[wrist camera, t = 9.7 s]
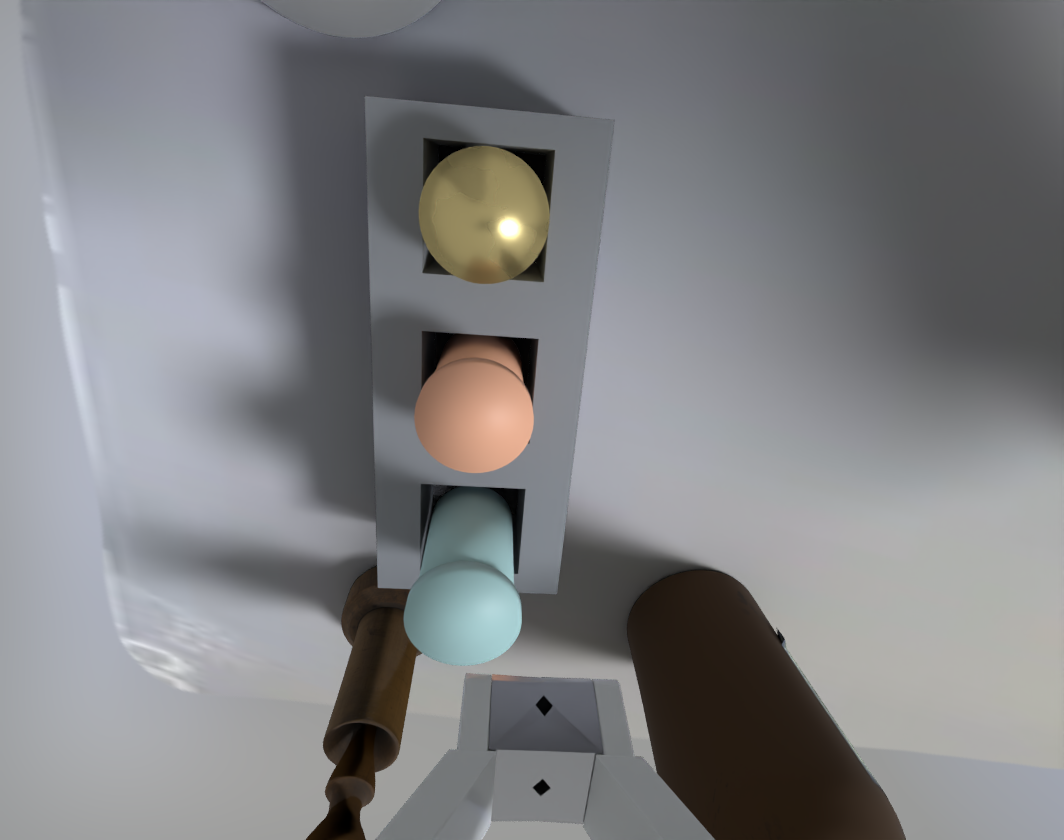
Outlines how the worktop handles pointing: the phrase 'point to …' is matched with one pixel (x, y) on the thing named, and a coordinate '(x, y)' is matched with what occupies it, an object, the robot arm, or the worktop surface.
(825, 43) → the worktop surface
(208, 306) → the worktop surface
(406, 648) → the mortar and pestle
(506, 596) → the plug
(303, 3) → the cylinder vase
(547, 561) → the grey plug holder block
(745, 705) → the olive oil
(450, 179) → the plug
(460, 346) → the plug
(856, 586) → the worktop surface
